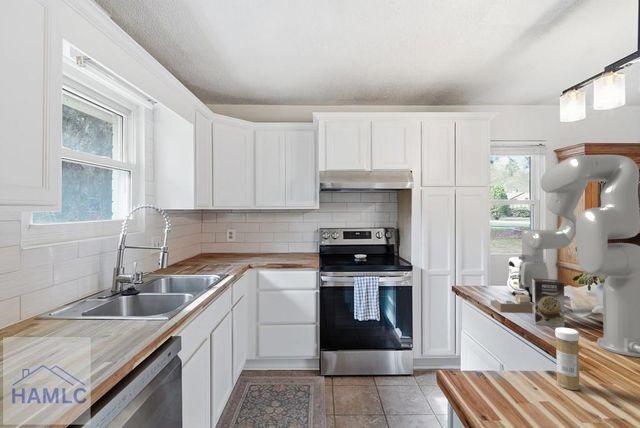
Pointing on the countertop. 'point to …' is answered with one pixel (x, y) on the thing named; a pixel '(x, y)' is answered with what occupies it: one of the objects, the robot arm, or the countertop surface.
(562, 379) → the sprinkles bottle
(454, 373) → the countertop surface
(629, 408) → the countertop surface
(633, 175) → the robot arm
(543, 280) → the cookie box
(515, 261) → the milk container
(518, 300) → the maple cube
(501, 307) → the trap board
